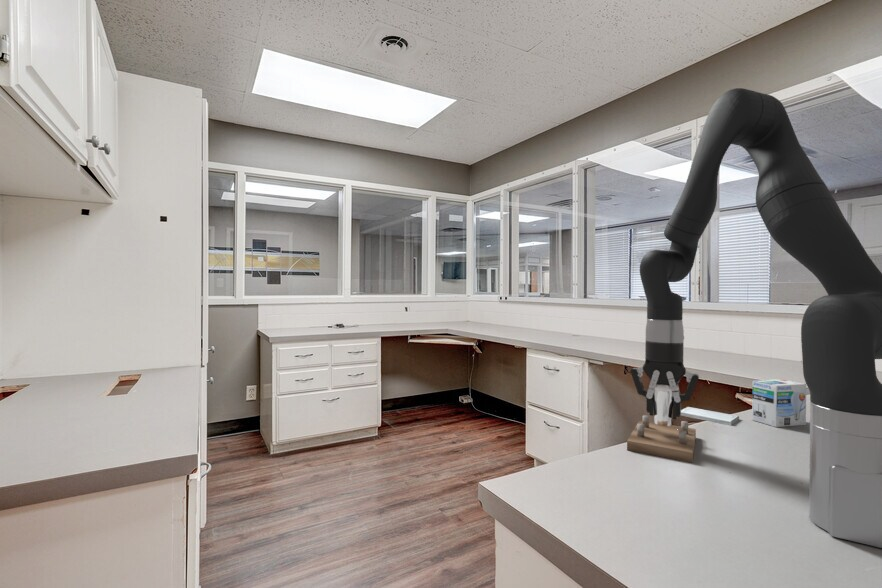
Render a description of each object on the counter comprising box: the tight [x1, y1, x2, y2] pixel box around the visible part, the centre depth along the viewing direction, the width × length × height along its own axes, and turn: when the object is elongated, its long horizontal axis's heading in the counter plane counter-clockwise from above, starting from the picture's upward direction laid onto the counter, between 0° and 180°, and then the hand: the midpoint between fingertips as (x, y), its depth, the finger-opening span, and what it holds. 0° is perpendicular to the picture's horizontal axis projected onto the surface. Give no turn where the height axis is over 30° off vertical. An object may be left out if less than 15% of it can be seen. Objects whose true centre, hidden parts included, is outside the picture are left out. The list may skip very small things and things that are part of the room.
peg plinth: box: [626, 414, 697, 464], centre depth 94 cm, size 18×12×4 cm, turn 147°
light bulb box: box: [751, 378, 807, 428], centre depth 111 cm, size 11×7×11 cm, turn 105°
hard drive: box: [680, 406, 740, 426], centre depth 115 cm, size 2×8×12 cm
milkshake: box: [653, 380, 680, 426], centre depth 94 cm, size 4×5×10 cm
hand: (663, 416), depth 94 cm, fingers closed on milkshake, 4 cm apart
